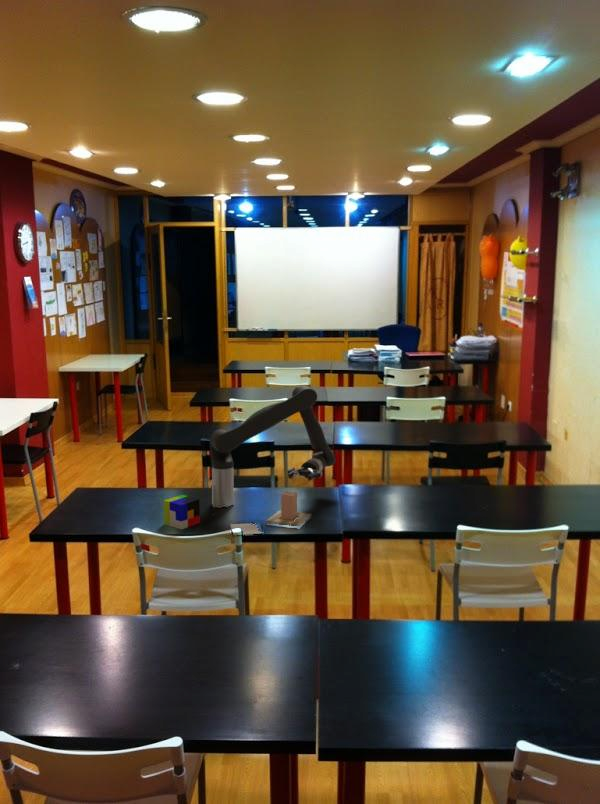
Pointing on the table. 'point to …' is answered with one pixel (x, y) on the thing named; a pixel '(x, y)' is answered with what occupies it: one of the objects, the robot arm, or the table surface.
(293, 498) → the terracotta block
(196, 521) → the puzzle toy
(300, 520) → the puzzle board
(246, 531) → the grey pad
